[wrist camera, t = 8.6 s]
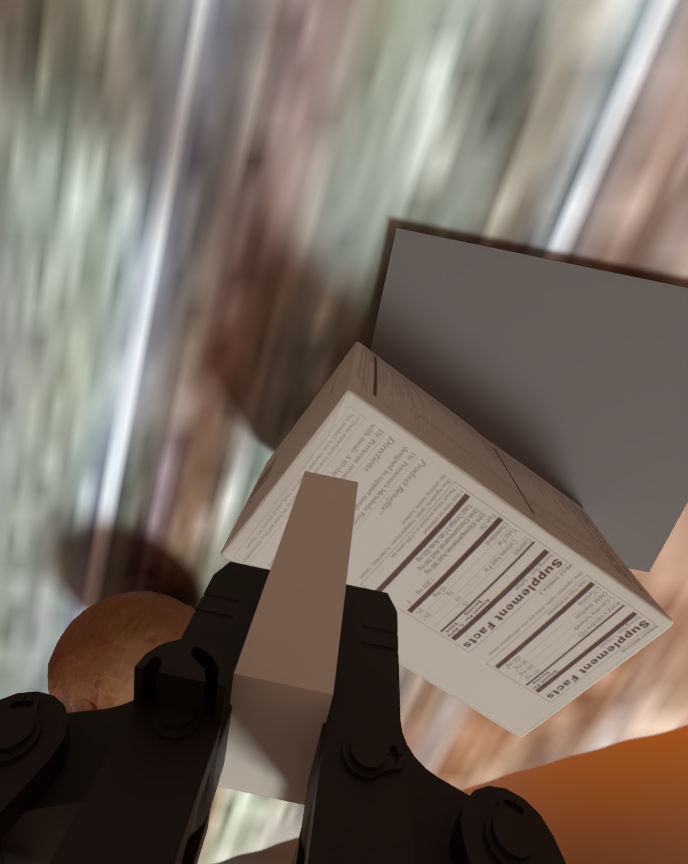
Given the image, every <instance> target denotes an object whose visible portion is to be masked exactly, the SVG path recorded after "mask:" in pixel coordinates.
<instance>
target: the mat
mask: <svg viewBox="0 0 688 864" xmlns="http://www.w3.org/2000/svg"><path fill="white" fill-rule="evenodd" d="M370 351H372V352H373V353H374V354H376V355H377V356H378V357H380V358H381V359H382V360H384V361H385V362H386V363H387V364H389V365H390V366H391V367H393V368H394V369H395V370H397V371H398V372H399V373H401V374H402V375H403V376H405V377H406V378H407V379H409V380H410V381H412V382H413V383H414V384H416V385H417V386H418V387H420V388H421V389H422V390H424V391H425V392H426V393H428V394H429V395H430V396H432V397H433V398H434V399H436V400H437V401H439V402H440V403H441V404H443V405H444V406H445V407H447V408H448V409H449V410H451V411H452V412H453V413H455V414H456V415H457V416H459V417H460V418H461V419H463V420H464V421H465V422H466V423H468V424H469V425H470V426H472V427H473V428H474V429H475V430H476V431H477V432H479V433H480V434H481V435H482V436H483V437H485V438H486V439H487V440H488V441H490V442H492V443H493V444H495V445H496V446H498V447H499V448H500V449H502V450H503V451H504V452H506V453H507V454H509V455H510V456H511V457H513V458H514V459H516V460H517V461H519V462H520V463H522V464H523V465H524V466H526V467H527V468H529V469H530V470H531V471H533V472H534V473H536V474H537V475H538V476H540V477H541V478H542V479H544V480H545V481H547V482H548V483H549V484H551V485H552V486H553V487H555V488H556V489H557V490H559V491H560V492H561V493H563V494H564V495H565V496H567V497H568V498H570V499H571V500H572V501H574V502H575V503H576V504H578V505H579V506H580V507H582V508H583V509H584V510H585V511H586V512H587V514H588V515H589V516H590V518H591V519H592V521H593V522H594V524H595V525H596V526H597V528H598V529H599V531H600V532H601V533H602V535H603V536H604V537H605V539H606V540H607V541H608V543H609V544H610V546H611V547H612V548H613V549H614V551H615V552H616V553H617V555H618V556H619V557H620V558H621V560H622V561H623V562H624V564H625V565H626V566H627V567H628V568H631V569H636V570H641V571H645V572H649V571H650V569H651V567H652V566H653V564H654V562H655V560H656V558H657V557H658V555H659V553H660V551H661V549H662V548H663V546H664V544H665V542H666V540H667V539H668V537H669V535H670V533H671V531H672V530H673V528H674V526H675V524H676V522H677V520H678V519H679V517H680V515H681V513H682V511H683V510H684V508H685V506H686V504H687V502H688V288H686V287H681V286H676V285H671V284H666V283H661V282H656V281H652V280H647V279H642V278H637V277H632V276H627V275H622V274H618V273H613V272H608V271H603V270H598V269H593V268H588V267H584V266H579V265H574V264H569V263H564V262H559V261H554V260H550V259H545V258H540V257H535V256H530V255H525V254H520V253H516V252H511V251H506V250H501V249H496V248H491V247H486V246H482V245H477V244H472V243H467V242H462V241H457V240H452V239H448V238H443V237H438V236H433V235H428V234H423V233H418V232H414V231H409V230H404V229H399V228H396V231H395V236H394V240H393V245H392V250H391V255H390V259H389V264H388V269H387V273H386V278H385V283H384V287H383V292H382V297H381V301H380V306H379V311H378V315H377V320H376V325H375V329H374V334H373V339H372V343H371V348H370Z"/></svg>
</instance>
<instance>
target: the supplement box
mask: <svg viewBox="0 0 688 864" xmlns="http://www.w3.org/2000/svg"><path fill="white" fill-rule="evenodd" d="M305 471H308V472H312V473H317V474H322V475H327V476H332V477H336V478H341V479H346V480H351V481H355V482H358V488H357V497H356V505H355V514H354V522H353V531H352V539H351V548H350V556H349V565H348V573H347V582H346V584H348V585H352V586H357V587H362V588H367V589H371V590H376V591H381V592H386V593H388V595H389V597H390V599H391V601H392V602H393V604H394V606H395V608H396V610H397V617H398V634H397V636H398V654H399V664H400V665H402V666H404V667H405V668H407V669H409V670H410V671H412V672H413V673H415V674H417V675H418V676H420V677H422V678H423V679H425V680H427V681H428V682H430V683H431V684H433V685H434V686H436V687H438V688H439V689H441V690H443V691H444V692H446V693H447V694H449V695H451V696H452V697H454V698H456V699H457V700H459V701H461V702H462V703H464V704H465V705H467V706H469V707H470V708H472V709H474V710H475V711H477V712H479V713H480V714H482V715H484V716H485V717H487V718H488V719H490V720H492V721H493V722H495V723H496V724H498V725H500V726H501V727H503V728H504V729H506V730H508V731H509V732H511V733H512V734H514V735H516V736H517V737H523V736H524V735H526V734H527V733H529V732H530V731H531V730H533V729H534V728H536V727H537V726H539V725H540V724H542V723H543V722H544V721H546V720H547V719H548V718H549V717H551V716H552V715H553V714H555V713H556V712H557V711H559V710H560V709H561V708H563V707H564V706H565V705H567V704H568V703H569V702H571V701H572V700H573V699H575V698H576V697H577V696H579V695H580V694H581V693H583V692H584V691H585V690H587V689H588V688H590V687H591V686H592V685H594V684H595V683H596V682H598V681H599V680H600V679H602V678H603V677H604V676H606V675H607V674H608V673H610V672H611V671H612V670H614V669H615V668H617V667H618V666H619V665H621V664H622V663H623V662H625V661H626V660H627V659H629V658H630V657H631V656H633V655H634V654H635V653H637V652H638V651H639V650H641V649H642V648H643V647H645V646H646V645H647V644H649V643H650V642H651V641H653V640H654V639H655V638H657V637H658V636H659V635H661V634H662V633H663V632H664V631H666V630H667V629H668V628H669V627H671V626H672V625H673V621H672V619H671V618H670V617H669V616H668V615H667V614H666V613H665V612H664V611H663V609H662V608H661V607H660V606H659V605H658V604H657V603H656V601H655V600H654V599H653V598H652V597H651V596H650V594H649V593H648V592H647V591H646V590H645V588H644V587H643V586H642V585H641V583H640V582H639V581H638V580H637V579H636V577H635V576H634V575H633V574H632V572H631V571H630V570H629V569H628V567H627V566H626V565H625V564H624V562H623V561H622V560H621V558H620V557H619V556H618V555H617V553H616V552H615V551H614V549H613V548H612V547H611V546H610V544H609V543H608V541H607V540H606V539H605V537H604V536H603V535H602V533H601V532H600V531H599V529H598V528H597V526H596V525H595V524H594V522H593V521H592V519H591V518H590V516H589V515H588V514H587V512H586V511H585V510H584V509H583V508H582V507H580V506H579V505H578V504H576V503H575V502H574V501H572V500H571V499H570V498H568V497H567V496H565V495H564V494H563V493H561V492H560V491H559V490H557V489H556V488H555V487H553V486H552V485H551V484H549V483H548V482H547V481H545V480H544V479H542V478H541V477H540V476H538V475H537V474H536V473H534V472H533V471H531V470H530V469H529V468H527V467H526V466H524V465H523V464H522V463H520V462H519V461H517V460H516V459H514V458H513V457H511V456H510V455H509V454H507V453H506V452H504V451H503V450H502V449H500V448H499V447H498V446H496V445H495V444H493V443H492V442H490V441H488V440H487V439H486V438H485V437H483V436H482V435H481V434H480V433H479V432H477V431H476V430H475V429H474V428H473V427H472V426H470V425H469V424H468V423H466V422H465V421H464V420H463V419H461V418H460V417H459V416H457V415H456V414H455V413H453V412H452V411H451V410H449V409H448V408H447V407H445V406H444V405H443V404H441V403H440V402H439V401H437V400H436V399H434V398H433V397H432V396H430V395H429V394H428V393H426V392H425V391H424V390H422V389H421V388H420V387H418V386H417V385H416V384H414V383H413V382H412V381H410V380H409V379H407V378H406V377H405V376H403V375H402V374H401V373H399V372H398V371H397V370H395V369H394V368H393V367H391V366H390V365H389V364H387V363H386V362H385V361H384V360H382V359H381V358H380V357H378V356H377V355H376V354H374V353H373V352H372V351H370V350H369V349H368V348H367V347H365V346H364V345H363V344H361V343H360V342H358V341H357V342H356V343H355V344H354V345H353V347H352V348H351V349H350V351H349V352H348V353H347V355H346V356H345V358H344V359H343V360H342V362H341V363H340V364H339V366H338V367H337V369H336V370H335V371H334V373H333V374H332V376H331V377H330V378H329V379H328V380H327V382H326V383H325V384H324V386H323V387H322V389H321V390H320V391H319V393H318V394H317V395H316V397H315V398H314V400H313V401H312V402H311V404H310V405H309V406H308V408H307V409H306V411H305V412H304V413H303V415H302V416H301V417H300V418H299V420H298V421H297V422H296V424H295V425H294V426H293V428H292V429H291V430H290V432H289V433H288V434H287V436H286V437H285V438H284V440H283V441H282V442H281V444H280V445H279V447H278V448H277V449H276V451H275V452H274V454H273V455H272V456H271V458H270V459H269V460H268V462H267V463H266V465H265V468H264V470H263V471H262V473H261V475H260V477H259V479H258V481H257V483H256V485H255V487H254V489H253V491H252V493H251V495H250V497H249V499H248V501H247V503H246V504H245V506H244V508H243V510H242V512H241V514H240V516H239V518H238V520H237V522H236V524H235V526H234V528H233V530H232V532H231V533H230V535H229V537H228V539H227V541H226V543H225V545H224V548H223V549H222V551H221V555H222V556H224V557H225V558H227V559H228V560H230V561H232V562H236V563H240V564H245V565H250V566H255V567H259V568H264V569H269V570H270V569H271V566H272V564H273V561H274V558H275V555H276V552H277V549H278V546H279V544H280V541H281V538H282V535H283V532H284V529H285V526H286V524H287V521H288V518H289V515H290V512H291V509H292V507H293V504H294V501H295V498H296V495H297V492H298V489H299V487H300V484H301V481H302V478H303V475H304V472H305Z"/></svg>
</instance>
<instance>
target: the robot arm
mask: <svg viewBox="0 0 688 864" xmlns="http://www.w3.org/2000/svg"><path fill="white" fill-rule="evenodd" d="M357 488H358V482H355V481H351V480H346V479H341V478H336V477H332V476H327V475H322V474H317V473H312V472H308V471H305V472H304V475H303V478H302V481H301V484H300V487H299V489H298V492H297V495H296V498H295V501H294V504H293V507H292V509H291V512H290V515H289V518H288V521H287V524H286V526H285V529H284V532H283V535H282V538H281V541H280V544H279V546H278V549H277V552H276V555H275V558H274V561H273V564H272V566H271V569H270V570H269V569H264V568H259V567H255V566H250V565H245V564H240V563H236V562H229V563H228V564H227V565H226V566H224V567H223V568H222V569H221V570H219V571H218V572H217V573H215V574H214V575H213V577H212V579H211V581H210V583H209V585H208V587H207V589H206V591H205V593H204V596H203V597H202V599H201V600H200V602H199V604H198V606H197V608H196V612H194V614H193V616H192V618H191V620H190V622H189V624H188V626H187V628H186V630H185V632H184V634H183V636H182V637H181V639H178V640H174V641H170V642H166V643H163V644H161V645H159V646H157V647H156V648H154V649H152V650H151V651H149V652H147V653H146V654H145V655H144V656H143V657H142V659H141V660H140V661H139V662H138V663H137V664H136V666H135V667H134V700H132V701H130V702H128V703H125V704H123V705H120V706H116V707H111V708H106V709H98V710H88V711H79V712H70V713H67V711H66V707H65V705H64V704H63V703H62V702H60V701H59V700H58V699H57V698H56V697H55V696H53V695H49V694H46V693H42V692H38V691H37V692H26V693H17V694H14V695H11V696H9V697H6V698H3V699H1V700H0V864H197V862H198V859H199V855H200V852H201V849H202V845H203V842H204V839H205V836H206V832H207V829H208V822H209V814H210V808H211V805H212V802H213V799H214V795H215V792H216V789H217V786H218V782H219V787H223V788H228V789H232V790H237V791H242V792H246V793H251V794H256V795H261V796H265V797H270V798H275V799H279V800H284V801H289V802H294V803H298V804H303V805H305V807H304V814H303V821H302V828H301V832H300V835H299V839H298V843H297V847H296V851H295V855H294V858H293V862H292V864H566V863H565V860H564V858H563V856H562V854H561V852H560V850H559V847H558V845H557V843H556V841H555V839H554V836H553V835H552V833H551V832H550V830H549V828H548V827H547V825H546V823H545V822H544V820H543V819H542V817H541V815H540V814H539V813H538V812H537V811H536V810H535V809H534V808H533V807H532V806H531V805H530V804H529V803H528V802H527V801H526V800H525V799H523V798H522V797H520V796H518V795H516V794H514V793H513V792H511V791H509V790H507V789H505V788H499V787H493V786H487V787H484V788H480V789H477V790H475V791H474V792H473V793H472V794H471V795H470V796H469V795H467V794H466V793H464V792H462V791H461V790H459V789H457V788H455V787H454V786H452V785H450V784H449V783H447V782H445V781H443V780H442V779H440V778H438V777H437V776H435V775H434V774H433V773H431V772H430V771H428V770H427V769H426V768H425V767H424V766H423V765H422V764H421V763H420V762H419V761H418V760H417V759H416V758H415V756H414V755H413V753H412V752H411V750H410V749H409V747H408V746H407V743H406V741H405V738H404V736H403V733H402V728H401V721H400V690H399V654H398V636H397V634H398V617H397V610H396V608H395V606H394V604H393V602H392V601H391V599H390V597H389V595H388V593H386V592H381V591H376V590H371V589H367V588H362V587H357V586H352V585H348V584H346V582H347V573H348V565H349V556H350V548H351V539H352V531H353V522H354V514H355V505H356V497H357Z"/></svg>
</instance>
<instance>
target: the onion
mask: <svg viewBox="0 0 688 864" xmlns="http://www.w3.org/2000/svg"><path fill="white" fill-rule="evenodd" d="M194 612H196V611H195V610H194V609H193V607H192V606H188V605H186V604H184V603H182V602H180V601H179V600H177V599H175V598H173V597H171V596H168V595H164V594H161V593H156V592H153V591H132V592H128V593H118V594H116V595H113V596H111V597H108V598H105V599H103V600H101V601H99V602H97V603H96V604H94V605H92V606H91V607H89V608H87V609H86V610H84V611H83V612H82V613H81V614H80V615H79V616H78V617H76V618H75V619H74V620H73V621H72V622H71V623H70V624H69V626H68V627H67V629H66V630H65V631H64V633H63V634H62V636H61V637H60V639H59V641H58V642H57V644H56V647H55V649H54V651H53V654H52V656H51V658H50V661H49V663H48V691H49V694H50V695H53V696H55V697H56V698H57V699H58V700H59V701H60V702H62V703H63V704H64V705H65V707H66V711H67V713H70V712H79V711H88V710H98V709H106V708H111V707H116V706H120V705H123V704H125V703H128V702H130V701H132V700H134V667H135V666H136V664H137V663H138V662H139V661H140V660H141V659H142V657H143V656H144V655H145V654H146V653H147V652H149V651H151V650H152V649H154V648H156V647H157V646H159V645H161V644H163V643H166V642H170V641H174V640H178V639H181V637H182V636H183V634H184V632H185V630H186V628H187V626H188V624H189V622H190V620H191V618H192V616H193V614H194Z"/></svg>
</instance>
